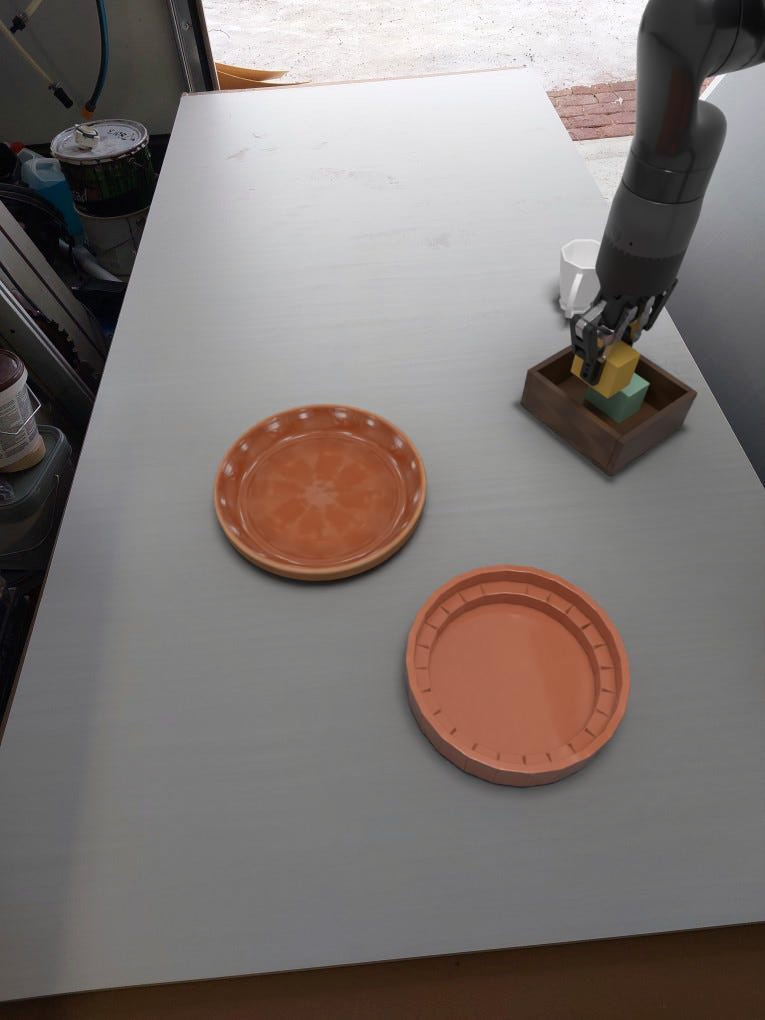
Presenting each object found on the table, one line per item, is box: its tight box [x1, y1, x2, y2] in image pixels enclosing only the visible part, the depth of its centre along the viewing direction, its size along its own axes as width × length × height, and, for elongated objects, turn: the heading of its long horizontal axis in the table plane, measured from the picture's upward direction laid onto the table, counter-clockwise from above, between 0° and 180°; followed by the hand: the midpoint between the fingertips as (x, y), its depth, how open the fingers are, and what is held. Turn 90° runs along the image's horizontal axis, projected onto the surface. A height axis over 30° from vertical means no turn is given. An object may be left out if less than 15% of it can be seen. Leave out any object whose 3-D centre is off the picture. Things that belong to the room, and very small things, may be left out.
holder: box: [520, 344, 699, 477], centre depth 82 cm, size 15×13×6 cm
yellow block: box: [571, 338, 642, 399], centre depth 75 cm, size 6×4×4 cm, turn 37°
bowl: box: [404, 563, 631, 788], centre depth 62 cm, size 19×19×4 cm
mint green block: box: [585, 373, 650, 424], centre depth 82 cm, size 6×4×4 cm, turn 37°
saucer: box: [212, 403, 428, 582], centre depth 75 cm, size 23×23×4 cm
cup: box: [558, 238, 601, 319], centre depth 92 cm, size 7×10×8 cm
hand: (602, 372), depth 76 cm, fingers closed on yellow block, 3 cm apart
